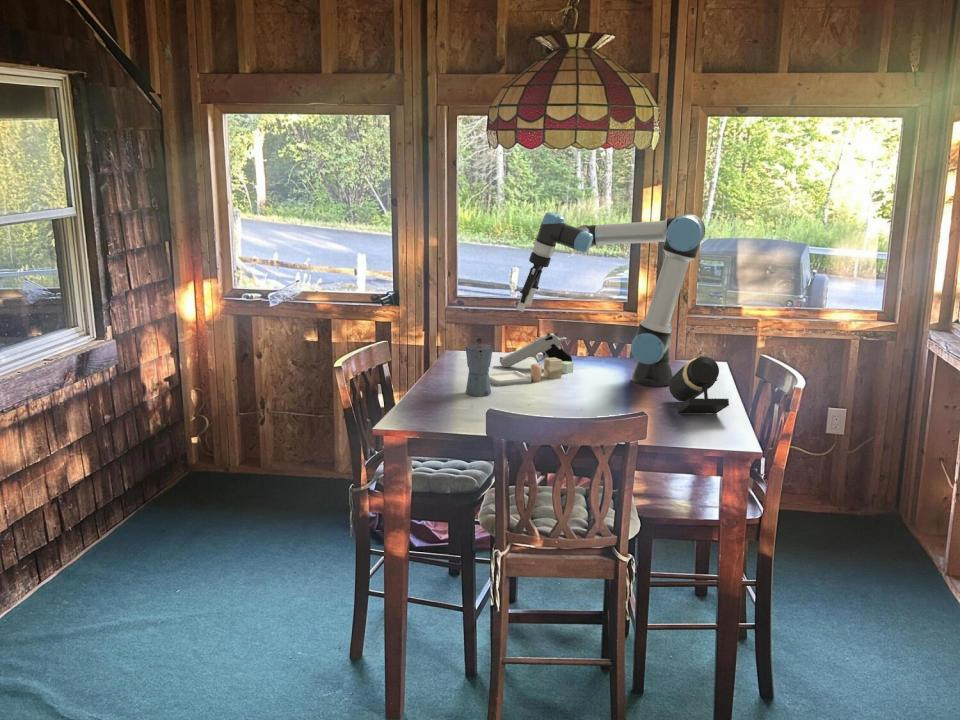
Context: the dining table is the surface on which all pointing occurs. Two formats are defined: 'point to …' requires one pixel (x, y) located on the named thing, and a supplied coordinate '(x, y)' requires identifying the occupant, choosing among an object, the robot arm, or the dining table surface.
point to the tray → (508, 378)
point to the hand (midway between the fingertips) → (523, 307)
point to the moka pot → (478, 368)
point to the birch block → (552, 368)
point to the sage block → (567, 367)
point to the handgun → (538, 350)
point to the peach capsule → (536, 373)
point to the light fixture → (697, 386)
